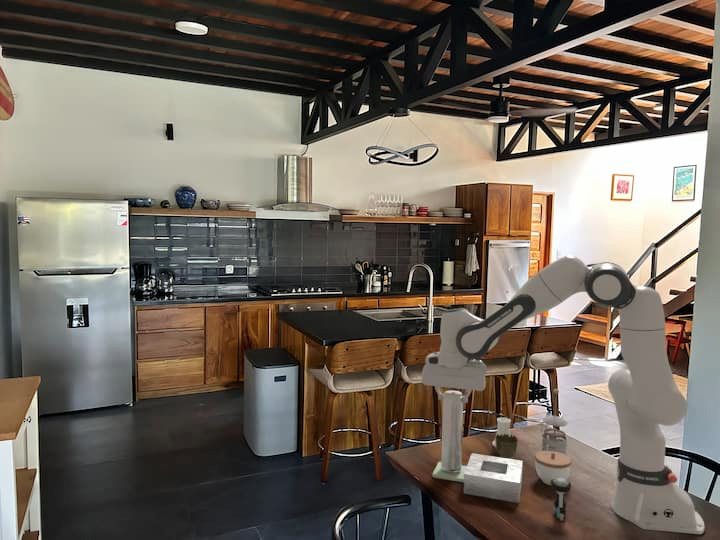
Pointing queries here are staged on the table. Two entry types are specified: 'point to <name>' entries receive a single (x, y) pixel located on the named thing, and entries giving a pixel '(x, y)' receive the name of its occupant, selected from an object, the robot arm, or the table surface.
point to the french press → (554, 433)
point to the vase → (502, 427)
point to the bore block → (493, 477)
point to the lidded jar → (552, 465)
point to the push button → (560, 495)
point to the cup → (506, 445)
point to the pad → (449, 474)
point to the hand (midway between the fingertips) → (452, 400)
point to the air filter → (452, 431)
